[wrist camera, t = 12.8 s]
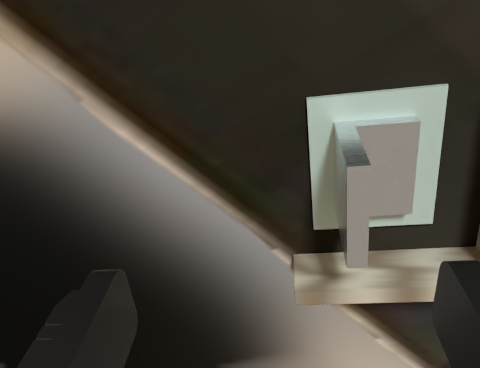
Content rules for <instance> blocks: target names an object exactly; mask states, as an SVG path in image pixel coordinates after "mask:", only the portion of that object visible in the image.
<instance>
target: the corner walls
mask: <svg viewBox="0 0 480 368" xmlns="http://www.w3.org/2000/svg"><path fill="white" fill-rule="evenodd" d="M293 259H294V289H295V302H296V305H317V304H318V305H319V304H357V303H395V302H433V301H434V296H435V290H436V285H437V279H438V273H439V268H440V265H441V263H442V262H443V261H461V260H477V261H479V262H480V226H479V231H478V237H477V242H476V246H475V247H452V248H429V249H407V250H384V251H368V268H347V267H346V262H345V257H344V252H338V253H316V254H293Z"/></svg>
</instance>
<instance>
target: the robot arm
mask: <svg viewBox="0 0 480 368" xmlns="http://www.w3.org/2000/svg"><path fill="white" fill-rule="evenodd" d="M432 314H433V322H434V327H435V330H436V333H437V335H438V338H439V340H440V342H441V345H442V347H443V349H444V351H445V354H446V356H447V358H448V361H449V363H450V365H451V368H480V262H479V261H477V260H461V261H443V262H442V263H441V265H440V268H439V273H438V279H437V285H436V290H435V296H434V301H433V308H432ZM136 328H137V311H136V308H135V304H134V301H133V298H132V294H131V291H130V288H129V285H128V281H127V278H126V275H125V273H124V271H123V270H121V269H118V270H93V271H92V272H91V273H90V274H89V276H88V277H87V279H86V281H85V283H84V284H83V286H82V288H81V290H79V291H72V292H70V293H69V294H68V295H67V296H66V297H65V298H64V299H63V300H62V301H60V302H59V303H58V304H57V305H56V306H55V308H54V309H53V311H52V313H51V314H50V316H49V317H48V319H47V321H46V322H45V326H43V327H42V329H41V330H40V332H39V334H38V335H37V337H36V338H37V339H36V341H34V342H33V343H32V345H31V347H30V348H29V350H28V351H27V353H26V355H25V356H24V358H23V360H22V361H21V363H20V364H19V366H18V368H124V365H125V362H126V359H127V356H128V354H129V351H130V348H131V345H132V343H133V340H134V337H135V334H136Z"/></svg>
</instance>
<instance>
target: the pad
mask: <svg viewBox="0 0 480 368" xmlns="http://www.w3.org/2000/svg"><path fill="white" fill-rule="evenodd" d="M447 94H448V84H438V85H428V86H418V87H408V88H397V89H387V90H377V91H367V92H357V93H347V94H336V95H326V96H316V97H306V98H307V117H308V135H309V153H310V172H311V190H312V209H313V227H314V230H320V229H339V227H338V222H337V217H336V212H335V163H334V122H343V121H355V120H367V119H379V118H392V117H404V116H417V117H418V118H419V120H420V121H421V125H420V136H419V146H418V157H417V168H416V178H415V189H414V199H413V210H412V214H403V215H383V216H369V227H377V226H396V225H416V224H433V215H434V207H435V198H436V189H437V181H438V172H439V163H440V154H441V146H442V137H443V128H444V120H445V111H446V102H447Z"/></svg>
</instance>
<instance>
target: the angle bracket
mask: <svg viewBox="0 0 480 368" xmlns="http://www.w3.org/2000/svg"><path fill="white" fill-rule="evenodd" d="M420 125H421V121H420V120H419V118H418V117H417V116H404V117H392V118H379V119H367V120H355V121H343V122H334V163H335V212H336V217H337V222H338V227H339V232H340V237H341V242H342V247H343V252H344V257H345V262H346V267H347V268H368V239H369V216H383V215H403V214H412V210H413V199H414V189H415V178H416V168H417V157H418V146H419V136H420Z"/></svg>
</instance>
